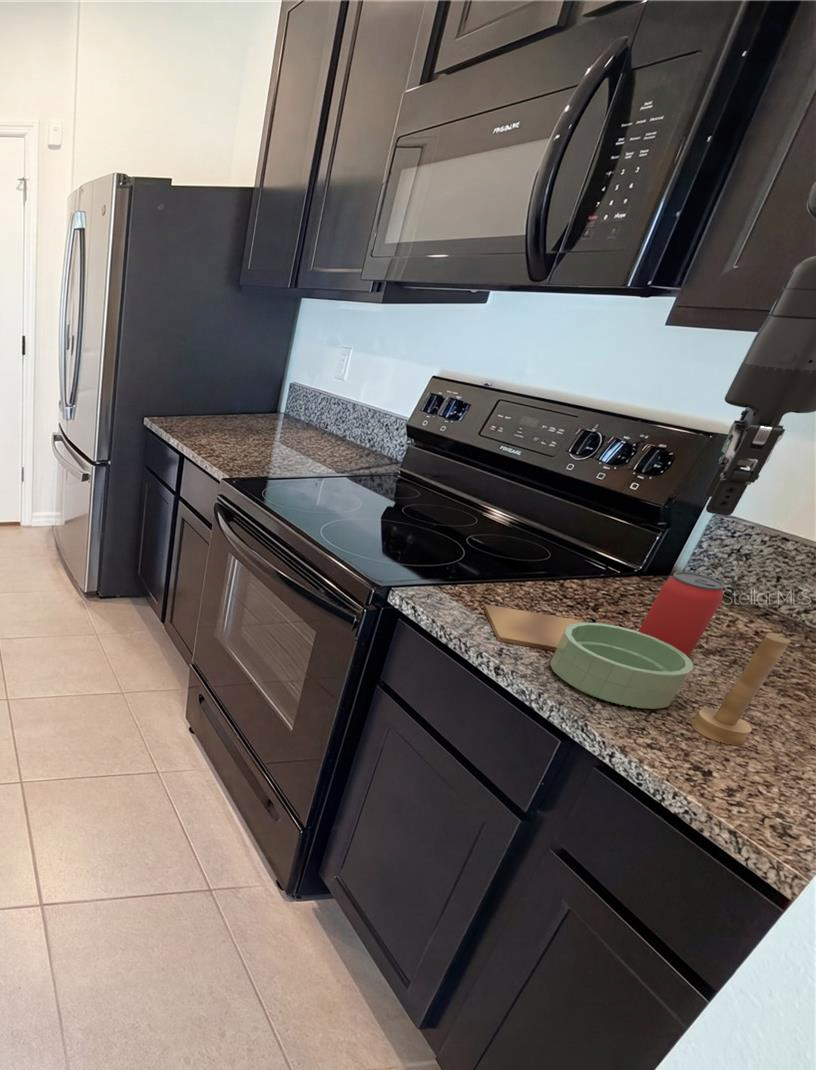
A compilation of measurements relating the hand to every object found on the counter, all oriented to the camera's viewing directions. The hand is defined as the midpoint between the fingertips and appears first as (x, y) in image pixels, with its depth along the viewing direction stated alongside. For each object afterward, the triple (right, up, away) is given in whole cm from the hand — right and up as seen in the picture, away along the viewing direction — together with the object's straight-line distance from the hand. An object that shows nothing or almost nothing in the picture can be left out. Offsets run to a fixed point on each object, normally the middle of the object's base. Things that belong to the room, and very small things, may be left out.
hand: (716, 504), depth 78 cm
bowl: (0, -23, +14) cm, 27 cm away
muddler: (+5, -28, +5) cm, 29 cm away
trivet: (0, -17, +27) cm, 32 cm away
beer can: (+16, -19, +23) cm, 34 cm away
